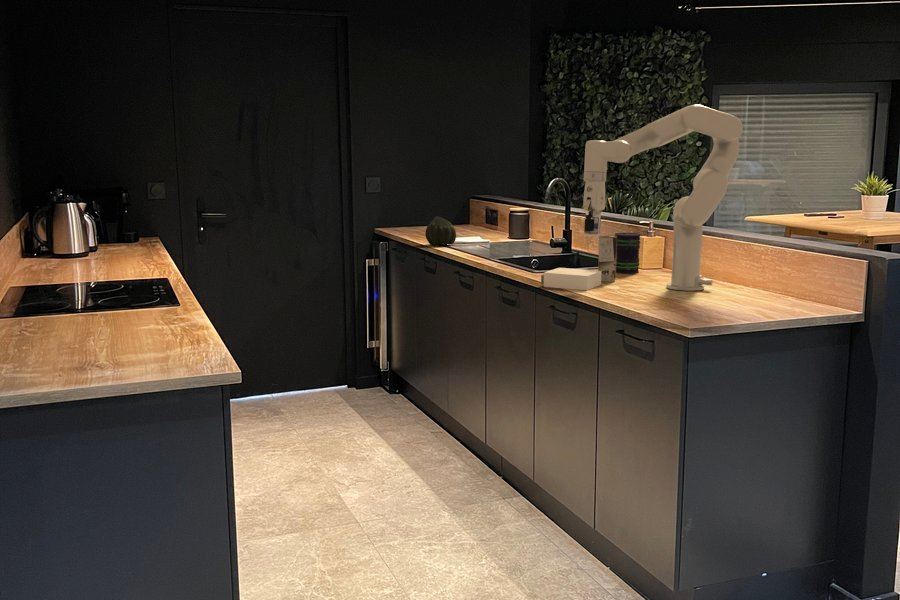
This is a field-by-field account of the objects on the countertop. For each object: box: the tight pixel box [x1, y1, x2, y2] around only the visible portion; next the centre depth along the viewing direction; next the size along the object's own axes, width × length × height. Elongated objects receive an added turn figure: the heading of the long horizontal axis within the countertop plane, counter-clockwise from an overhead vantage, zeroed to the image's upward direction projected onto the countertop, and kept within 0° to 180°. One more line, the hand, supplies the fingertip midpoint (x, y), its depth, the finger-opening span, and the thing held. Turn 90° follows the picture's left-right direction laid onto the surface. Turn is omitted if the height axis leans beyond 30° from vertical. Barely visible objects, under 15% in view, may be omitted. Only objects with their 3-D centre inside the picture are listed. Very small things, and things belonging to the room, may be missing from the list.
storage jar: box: [614, 232, 641, 275], centre depth 336 cm, size 10×10×15 cm
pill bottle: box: [583, 208, 602, 237], centre depth 297 cm, size 5×5×10 cm
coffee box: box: [597, 234, 617, 283], centre depth 316 cm, size 9×6×16 cm
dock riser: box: [540, 267, 602, 291], centre depth 304 cm, size 17×14×5 cm
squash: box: [424, 215, 457, 247], centre depth 426 cm, size 14×15×15 cm
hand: (592, 229), depth 297 cm, fingers closed on pill bottle, 5 cm apart
